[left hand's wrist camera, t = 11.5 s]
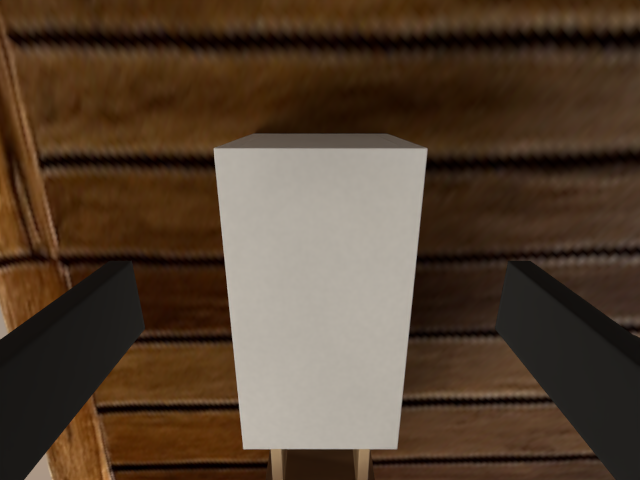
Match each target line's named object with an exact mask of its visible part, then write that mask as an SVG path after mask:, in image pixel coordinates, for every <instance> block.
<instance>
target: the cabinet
mask: <svg viewBox="0 0 640 480" xmlns="http://www.w3.org/2000/svg"><path fill="white" fill-rule="evenodd" d="M427 150H428V149H427V148H425V147H423V146H420V145H417V144H414V143H412V142H409V141H406V140H403V139H401V138H398V137H395V136H392V135H389V134H251V135H248V136H246V137H243V138H240V139H238V140H235V141H232V142H229V143H227V144H224V145H221V146H218V147H216V148H214V157H215V167H216V177H217V187H218V197H219V208H220V218H221V228H222V238H223V248H224V258H225V268H226V278H227V288H228V298H229V308H230V318H231V328H232V338H233V348H234V359H235V369H236V379H237V389H238V399H239V409H240V419H241V429H242V439H243V448H244V449H397V445H398V435H399V426H400V416H401V406H402V396H403V386H404V376H405V367H406V357H407V347H408V337H409V327H410V317H411V307H412V298H413V288H414V278H415V268H416V258H417V248H418V239H419V229H420V219H421V209H422V199H423V189H424V180H425V170H426V160H427Z"/></svg>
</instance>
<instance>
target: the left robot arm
mask: <svg viewBox="0 0 640 480" xmlns="http://www.w3.org/2000/svg"><path fill="white" fill-rule="evenodd" d="M144 329H145V326H144V321H143V316H142V311H141V306H140V301H139V296H138V290H137V285H136V280H135V275H134V270H133V265H132V261H109V262H108V263H106V264H105V265H103V266H102V267H101V268H99V269H98V270H96V271H95V272H94V273H92V274H91V275H90V276H88V277H87V278H85V279H84V280H83V281H81V282H80V283H78V284H77V285H76V286H74V287H73V288H71V289H70V290H69V291H67V292H66V293H65V294H63V295H62V296H60V297H59V298H58V299H56V300H55V301H53V302H52V303H51V304H49V305H48V306H46V307H45V308H44V309H42V310H41V311H39V312H38V313H37V314H35V315H34V316H33V317H31V318H30V319H28V320H27V321H26V322H24V323H23V324H21V325H20V326H19V327H17V328H16V329H14V330H13V331H12V332H10V333H9V334H8V335H6V336H5V337H3V338H2V339H0V480H24V479H25V478H26V477H27V475H28V474H29V473H30V472H31V470H32V469H33V468H34V467H35V465H36V464H37V463H38V462H39V460H40V459H41V458H42V457H43V455H44V454H45V453H46V452H47V450H48V449H49V448H50V447H51V445H52V444H53V443H54V442H55V440H56V439H57V438H58V437H59V435H60V434H61V433H62V432H63V430H64V429H65V428H66V427H67V425H68V424H69V423H70V422H71V420H72V419H73V418H74V417H75V415H76V414H77V413H78V412H79V410H80V409H81V408H82V407H83V405H84V404H85V403H86V402H87V400H88V399H89V398H90V397H91V395H92V394H93V393H94V392H95V390H96V389H97V388H98V387H99V385H100V384H101V383H102V382H103V380H104V379H105V378H106V377H107V375H108V374H109V373H110V372H111V370H112V369H113V368H114V367H115V365H116V364H117V363H118V362H119V360H120V359H121V358H122V357H123V355H124V354H125V353H126V352H127V350H128V349H129V348H130V347H131V345H132V344H133V343H134V342H135V340H136V339H137V338H138V337H139V335H140V334H141V333H142V332H143V330H144ZM495 329H496V330H497V332H498V333H499V334H500V335H501V337H502V338H503V339H504V340H505V342H506V343H507V344H508V345H509V347H510V348H511V349H512V350H513V352H514V353H515V354H516V355H517V357H518V358H519V359H520V360H521V362H522V363H523V364H524V365H525V367H526V368H527V369H528V370H529V372H530V373H531V374H532V375H533V377H534V378H535V379H536V380H537V382H538V383H539V384H540V385H541V387H542V388H543V389H544V390H545V392H546V393H547V394H548V395H549V397H550V398H551V399H552V400H553V402H554V403H555V404H556V405H557V407H558V408H559V409H560V410H561V412H562V413H563V414H564V415H565V417H566V418H567V419H568V420H569V422H570V423H571V424H572V425H573V427H574V428H575V429H576V430H577V432H578V433H579V434H580V435H581V437H582V438H583V439H584V440H585V442H586V443H587V444H588V445H589V447H590V448H591V449H592V450H593V452H594V453H595V454H596V455H597V457H598V458H599V459H600V460H601V462H602V463H603V464H604V465H605V467H606V468H607V469H608V470H609V472H610V473H611V474H612V475H613V477H614V478H615V479H616V480H640V338H639V337H637V336H635V335H632V334H631V333H630V332H628V331H627V330H626V329H624V328H623V327H621V326H620V325H619V324H617V323H616V322H614V321H613V320H612V319H610V318H609V317H607V316H606V315H605V314H603V313H602V312H601V311H599V310H598V309H596V308H595V307H594V306H592V305H591V304H589V303H588V302H587V301H585V300H584V299H582V298H581V297H580V296H578V295H577V294H575V293H574V292H573V291H571V290H570V289H569V288H567V287H566V286H564V285H563V284H562V283H560V282H559V281H557V280H556V279H555V278H553V277H552V276H550V275H549V274H548V273H546V272H545V271H544V270H542V269H541V268H539V267H538V266H537V265H535V264H534V263H532V262H531V261H508V265H507V270H506V275H505V280H504V285H503V290H502V296H501V301H500V306H499V311H498V316H497V321H496V326H495Z"/></svg>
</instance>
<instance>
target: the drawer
mask: <svg viewBox="0 0 640 480" xmlns="http://www.w3.org/2000/svg"><path fill="white" fill-rule="evenodd" d="M266 480H375V478H374V472H373V465H372V458H371V451H370V449H270V454H269V460H268V467H267V474H266Z"/></svg>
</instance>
